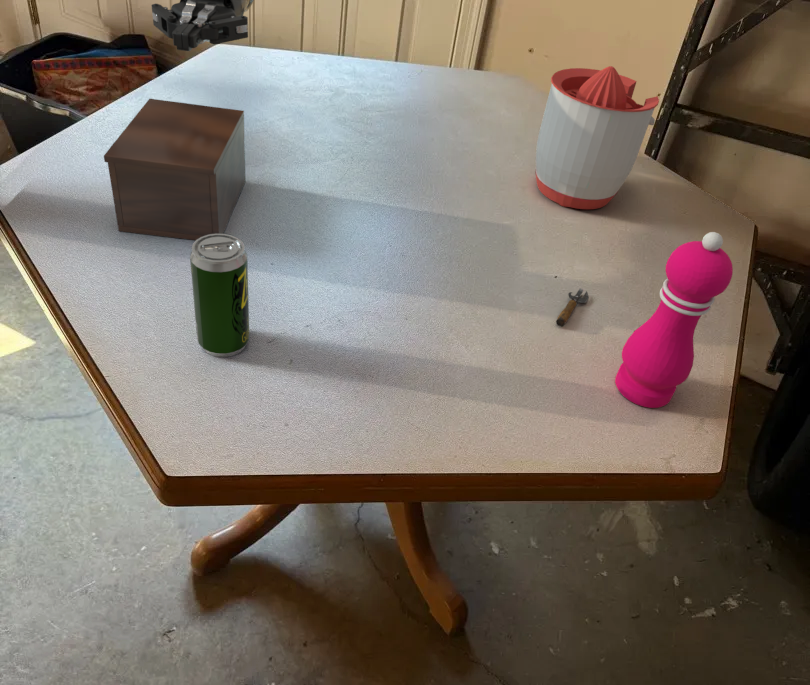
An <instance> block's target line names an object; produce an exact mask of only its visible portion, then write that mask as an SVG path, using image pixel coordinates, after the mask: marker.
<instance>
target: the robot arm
mask: <svg viewBox="0 0 810 685" xmlns="http://www.w3.org/2000/svg"><path fill="white" fill-rule="evenodd" d="M254 1H255V0H179V2H177V3H174V4H172V5H171V7H170V9H169V8H168V7H167V6H163V5H162V4H159V3H153V4H151V15H152V25H153V26H154V27H155V28H156V29H158V30H159V31H160V32H161V33H163V35H165V36H166V37H168V39H171V40H172V44H173V46H174V47H175V46H176V50H177V51H184V52H191V51H192V49H196V48H197V47H198V46H199V45H203V44H204V43H206V42H208V43H209V44H211V45H219V44H223V43H229V42H233V41H237V40H238V41H239V40H244V39H248V38H249V18H248V16H246V15H244V14H245V13H246V12H248V11H249V10H250V8H251V6H252V5H253V3H254Z"/></svg>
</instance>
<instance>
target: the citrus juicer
mask: <svg viewBox="0 0 810 685" xmlns="http://www.w3.org/2000/svg"><path fill="white" fill-rule="evenodd" d="M550 82H551V84H550V88H549V93H548V97H547V100H546V104H545V109H544V111H543V116H542V120H541V124H540V128H539V131H538V137H537V141H536V150H535V171H534V172H535V173H534V174H535V181H536V186H537V188H538V190H539V192H540V193H541V194H542V195H544V197H546V198H548V199H549V200H551V201H552V202H554V203H557V204H558V205H559V206H561V207H564V208H572V209H578V210H579V209H580V210H597V209H601V208H603V207H605V206H607V205H608V204H609V203H610V202H611V200H613V198H615V197H616V196H617V194H618V193H619V190H620V189H621V188H622V187H623V185H624V183H625V182H626V181H627V179H628V177H629V175H630V173H631V171H632V169H633V167H634V165H635V162H636V160H637V158H638V155H639V154H640V149H641V147H642V144H643V142H644V138H645V136H646V133H647V131H648V127H649V126H654V125H655V118H654V117H653V113H654V110H655V108H656V107H658V106H659V103H660V99H659V96H652V97H649V98H645V101H644V104H639V103H637V102H636V101H635V100H634V99H633V95H634V91H635V88H636V84H637V82H638V81H637V80H635V79H632V78H630V77H628V76H625V75H622V74H619V72H618V71H617V69H616V68H615V67H614V66H612V65H609V66H607V67H605V68H603V69H601V70H600V69H595V68H594V69H593V68H585V67H584V68H583V67H575V68H573V67H572V68H571V67H570V68H564V69H560V70H558V71H555V73H553V74H552V76H551V78H550Z"/></svg>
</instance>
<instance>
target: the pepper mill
mask: <svg viewBox="0 0 810 685" xmlns="http://www.w3.org/2000/svg"><path fill="white" fill-rule="evenodd" d="M723 243H724V239H723V236H722V235H721V234H720V233H718V232H715V231H710V232H708V233H706V234H705V235H704V236H703V238H702V240H693V241H692V240H691V241H687V242H685V243H683V244H681V245H679V246H677V247H676V248H675V249H674V250H673V251H672V252H671V254H670V256H669V257H668V258H667V261H666V264H665V276H666V279H664V281H663V283H662V287H661V288H660V290H659V297H660V301H659V304H658V306H657V308H656V309H655V311H654V313H653V314H652V315H651V316H650V317H649V318H648V319H647V320H646V321H645V322H644V323H643V324H642V325H640V326H639V327H637V328H636V329H635V330H634V331H633V332H632V334H631V335H630V336H629V337H628V338H627V339H626V340H625V341H626V342H624V345H623V347H622V349H621V360H622V363H621V364H620V366H619V368H618V370H617V373H616V375H615V377H614V378H615V379H614V383H615V387H616V389H617V390H618V392H619V393H620V394H621V395H622V396H623V397H624V398H625V399H627V400H628V401H629V402H631V403H633V404H634V405H637V406H640V407H643V408H649V409H658V408H662V407H665V406H667V405H668V404H669V403H670V402H671V400H672V398H673V396H674V395H675V392H676V391H677V386H680V385H681V384H683V383H684V382H685V381H686V380H687V379H688V378H689V377H690V374H691V372H692V370H693V367H694V359H695V350H694V348H695V347H694V336H695V332H696V331H695V330H696V327H697V325H698V323H699V320H700V319H701V317H702V316H704V315H706V314H707V313H709V311H711V309H712V308H711V307H712V305H713V304H714V302H715V297H718V296H719V295H721V294H722V293H724V292H725V291H726V289H727V288H728V287H729V285H730V283H731V281H732V278H733V273H734V270H733V269H734V268H733V262H732V259H731V257H730V256H729V254H728V253H727V252H726V251H725V250H724V249H722V246H723Z"/></svg>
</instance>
